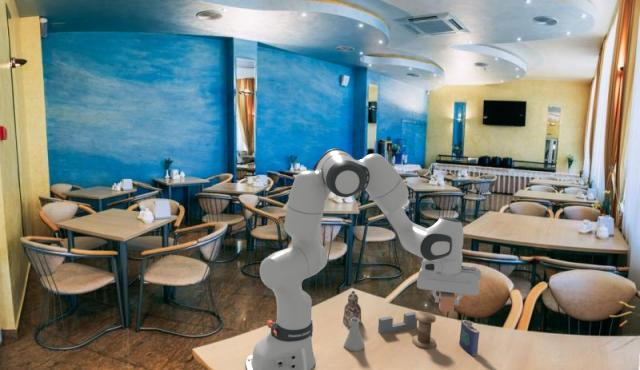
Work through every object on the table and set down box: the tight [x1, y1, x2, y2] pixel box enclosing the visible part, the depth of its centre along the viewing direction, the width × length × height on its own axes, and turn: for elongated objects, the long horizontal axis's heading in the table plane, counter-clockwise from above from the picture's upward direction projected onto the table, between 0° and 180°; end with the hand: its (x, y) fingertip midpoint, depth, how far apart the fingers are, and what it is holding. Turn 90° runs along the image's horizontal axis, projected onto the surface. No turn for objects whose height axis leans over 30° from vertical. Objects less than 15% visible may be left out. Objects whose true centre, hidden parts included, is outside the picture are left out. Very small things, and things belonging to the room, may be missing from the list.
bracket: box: [377, 311, 418, 335], centre depth 158 cm, size 16×2×6 cm, turn 112°
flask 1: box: [343, 318, 365, 352], centre depth 145 cm, size 7×7×10 cm
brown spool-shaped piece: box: [411, 311, 437, 349], centre depth 149 cm, size 8×8×10 cm
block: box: [438, 291, 456, 313], centre depth 142 cm, size 4×3×6 cm
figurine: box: [342, 290, 362, 327], centre depth 162 cm, size 7×7×12 cm
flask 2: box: [458, 319, 480, 358], centre depth 145 cm, size 9×3×11 cm, turn 13°
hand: (446, 303), depth 142 cm, fingers closed on block, 5 cm apart
